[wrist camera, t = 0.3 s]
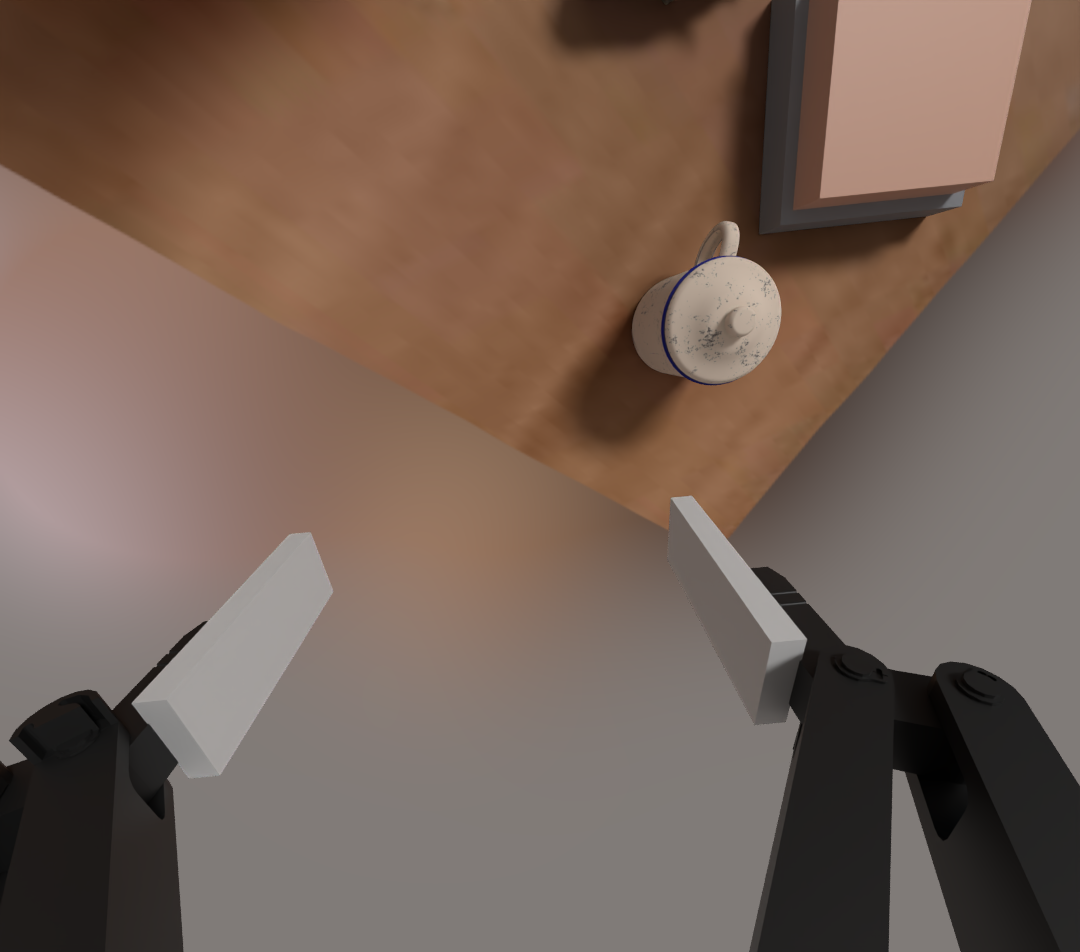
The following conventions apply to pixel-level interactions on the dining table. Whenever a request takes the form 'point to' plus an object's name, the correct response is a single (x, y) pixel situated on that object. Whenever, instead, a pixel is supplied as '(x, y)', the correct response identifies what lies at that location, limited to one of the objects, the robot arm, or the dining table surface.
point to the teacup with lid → (710, 315)
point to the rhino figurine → (667, 1)
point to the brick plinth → (884, 107)
